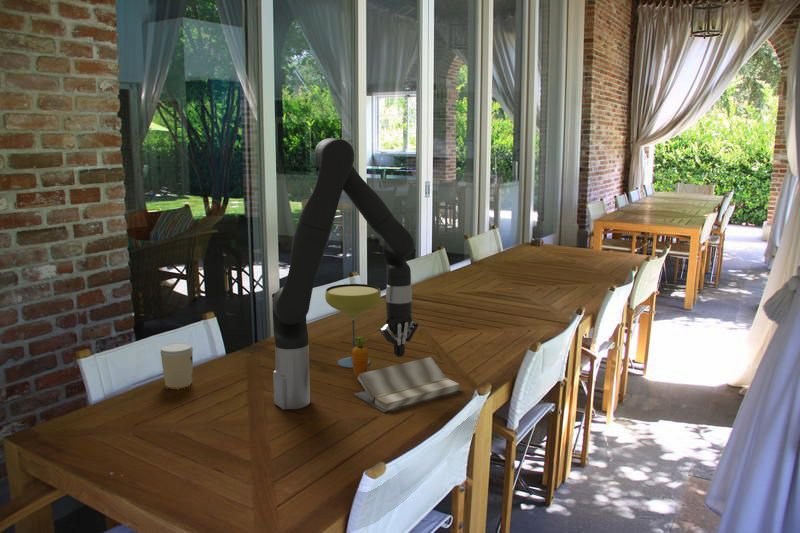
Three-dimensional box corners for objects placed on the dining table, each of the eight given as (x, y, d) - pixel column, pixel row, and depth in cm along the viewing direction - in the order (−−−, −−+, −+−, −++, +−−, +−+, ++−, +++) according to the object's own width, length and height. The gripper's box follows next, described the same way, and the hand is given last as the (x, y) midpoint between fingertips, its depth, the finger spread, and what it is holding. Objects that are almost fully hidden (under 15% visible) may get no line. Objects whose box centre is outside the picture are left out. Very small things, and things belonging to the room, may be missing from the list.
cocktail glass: (348, 376, 209) (347, 298, 204) (315, 361, 223) (314, 288, 218) (392, 363, 221) (392, 290, 216) (358, 350, 234) (357, 281, 230)
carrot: (360, 378, 207) (359, 332, 204) (371, 382, 204) (371, 335, 201) (348, 383, 203) (348, 335, 200) (360, 386, 200) (360, 338, 197)
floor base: (384, 413, 181) (384, 404, 180) (353, 395, 194) (353, 386, 193) (462, 391, 197) (463, 382, 196) (429, 375, 209) (429, 368, 209)
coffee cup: (200, 384, 202) (198, 346, 200) (172, 393, 195) (169, 353, 193) (185, 377, 208) (182, 340, 206) (156, 385, 201) (154, 347, 199)
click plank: (372, 401, 187) (374, 396, 186) (357, 378, 193) (359, 373, 191) (444, 382, 202) (446, 377, 201) (428, 361, 207) (430, 356, 206)
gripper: (387, 305, 187) (388, 364, 190) (424, 298, 195) (424, 355, 198) (372, 300, 193) (373, 357, 196) (409, 293, 201) (410, 348, 204)
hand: (399, 356), depth 197 cm, fingers closed
